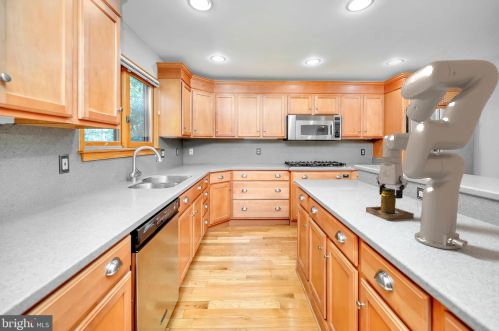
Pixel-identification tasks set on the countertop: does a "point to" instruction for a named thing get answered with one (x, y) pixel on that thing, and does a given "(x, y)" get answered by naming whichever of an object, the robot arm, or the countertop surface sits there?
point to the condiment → (388, 201)
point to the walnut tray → (399, 216)
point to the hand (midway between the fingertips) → (390, 196)
